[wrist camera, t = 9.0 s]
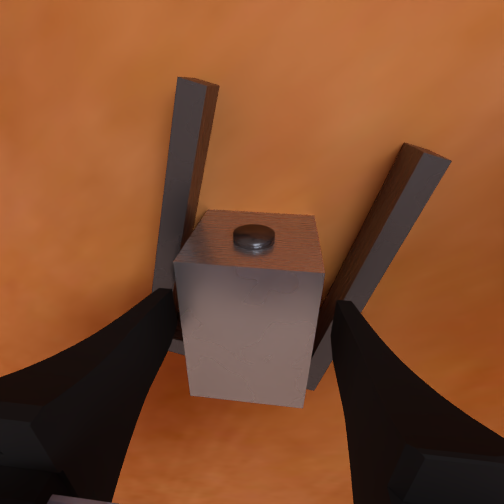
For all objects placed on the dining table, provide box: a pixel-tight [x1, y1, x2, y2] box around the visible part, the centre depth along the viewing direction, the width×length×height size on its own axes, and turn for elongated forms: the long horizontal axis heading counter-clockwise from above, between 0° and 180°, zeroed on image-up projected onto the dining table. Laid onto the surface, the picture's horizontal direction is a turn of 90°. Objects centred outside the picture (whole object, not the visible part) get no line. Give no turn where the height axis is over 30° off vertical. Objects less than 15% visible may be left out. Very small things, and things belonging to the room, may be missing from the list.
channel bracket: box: [152, 77, 451, 391], centre depth 14 cm, size 10×13×2 cm
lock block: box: [173, 209, 325, 408], centre depth 14 cm, size 5×7×5 cm
